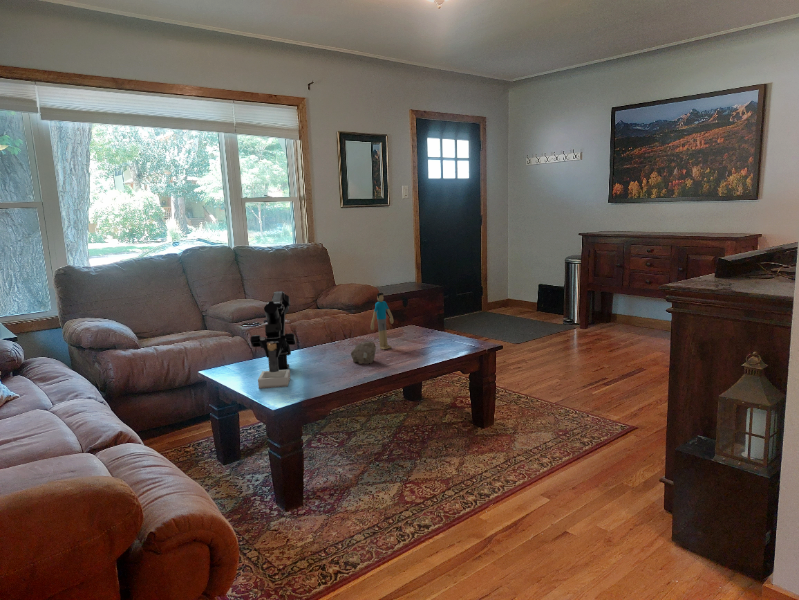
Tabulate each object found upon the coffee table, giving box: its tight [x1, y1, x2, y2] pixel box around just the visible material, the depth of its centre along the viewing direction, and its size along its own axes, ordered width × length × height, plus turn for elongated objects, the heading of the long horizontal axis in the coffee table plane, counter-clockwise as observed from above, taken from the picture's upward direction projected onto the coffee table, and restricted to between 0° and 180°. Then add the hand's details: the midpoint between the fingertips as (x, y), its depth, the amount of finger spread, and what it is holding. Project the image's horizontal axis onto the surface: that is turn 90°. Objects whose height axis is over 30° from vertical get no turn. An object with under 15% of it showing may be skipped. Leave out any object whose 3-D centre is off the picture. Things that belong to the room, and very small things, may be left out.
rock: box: [350, 341, 377, 365], centre depth 261 cm, size 14×10×8 cm
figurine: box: [370, 292, 394, 350], centre depth 284 cm, size 16×6×30 cm, turn 135°
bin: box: [257, 369, 291, 389], centre depth 235 cm, size 12×12×4 cm
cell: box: [267, 341, 280, 372], centre depth 233 cm, size 4×4×13 cm
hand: (272, 357), depth 232 cm, fingers closed on cell, 4 cm apart
